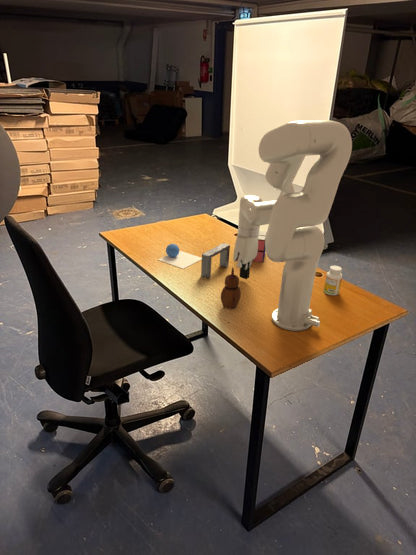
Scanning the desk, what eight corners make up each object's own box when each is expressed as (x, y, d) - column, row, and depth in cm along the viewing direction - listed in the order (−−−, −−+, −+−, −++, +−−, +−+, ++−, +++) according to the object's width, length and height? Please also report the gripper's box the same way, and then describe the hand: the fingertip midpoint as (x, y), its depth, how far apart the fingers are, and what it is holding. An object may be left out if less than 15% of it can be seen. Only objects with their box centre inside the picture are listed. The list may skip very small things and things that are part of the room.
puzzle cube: (263, 263, 174) (265, 240, 170) (238, 260, 176) (240, 237, 171) (265, 253, 183) (267, 231, 179) (242, 250, 185) (243, 229, 180)
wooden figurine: (232, 313, 137) (236, 271, 131) (217, 307, 140) (220, 266, 133) (242, 304, 143) (246, 264, 136) (227, 299, 145) (230, 259, 139)
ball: (184, 251, 174) (177, 239, 175) (175, 255, 170) (168, 243, 170) (176, 257, 178) (169, 245, 178) (168, 261, 174) (161, 249, 174)
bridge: (228, 266, 170) (230, 244, 165) (207, 278, 159) (208, 256, 155) (222, 264, 171) (223, 242, 167) (201, 276, 160) (201, 254, 156)
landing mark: (203, 258, 175) (203, 258, 175) (183, 269, 165) (183, 268, 165) (178, 250, 182) (178, 250, 181) (158, 260, 172) (158, 259, 172)
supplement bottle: (332, 287, 157) (337, 263, 152) (341, 294, 152) (347, 270, 148) (320, 289, 155) (325, 265, 151) (329, 296, 151) (334, 271, 146)
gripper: (249, 223, 157) (245, 268, 165) (228, 234, 146) (224, 281, 154) (267, 227, 153) (262, 273, 161) (246, 239, 142) (242, 287, 150)
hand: (244, 277), depth 158 cm, fingers closed
